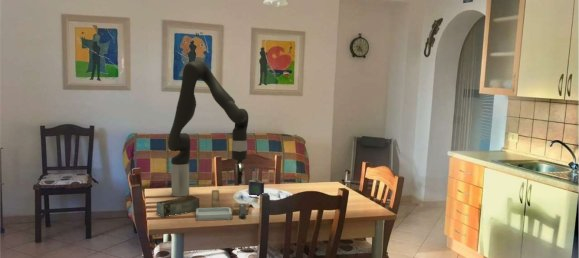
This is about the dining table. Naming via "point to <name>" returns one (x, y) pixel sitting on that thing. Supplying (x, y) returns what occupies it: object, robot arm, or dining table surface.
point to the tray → (214, 213)
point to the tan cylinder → (215, 198)
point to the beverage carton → (177, 206)
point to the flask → (255, 187)
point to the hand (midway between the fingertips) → (239, 183)
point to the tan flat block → (236, 208)
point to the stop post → (242, 211)
